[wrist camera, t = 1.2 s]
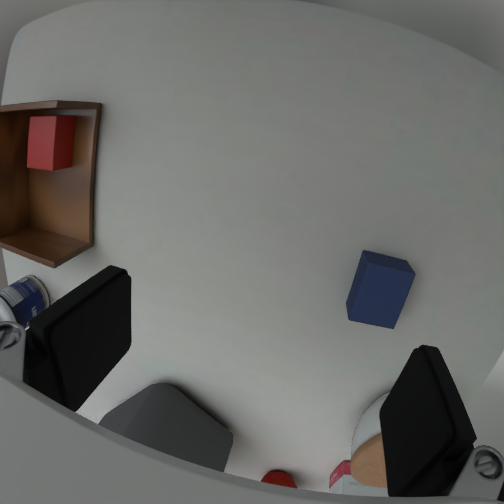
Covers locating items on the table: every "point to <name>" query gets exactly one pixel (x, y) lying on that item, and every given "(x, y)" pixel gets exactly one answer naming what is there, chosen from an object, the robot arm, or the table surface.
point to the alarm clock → (171, 426)
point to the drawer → (47, 186)
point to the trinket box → (369, 448)
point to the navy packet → (379, 289)
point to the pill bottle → (23, 300)
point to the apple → (279, 479)
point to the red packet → (51, 142)
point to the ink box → (352, 484)
